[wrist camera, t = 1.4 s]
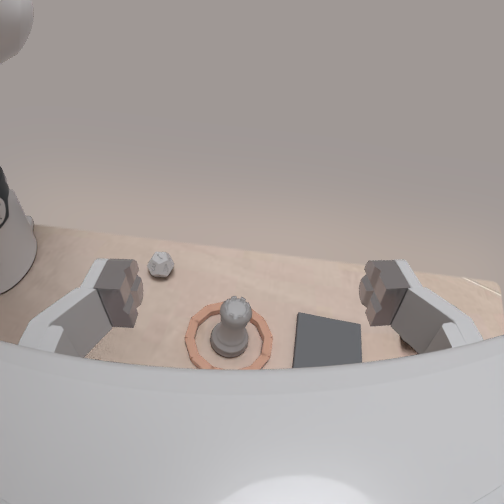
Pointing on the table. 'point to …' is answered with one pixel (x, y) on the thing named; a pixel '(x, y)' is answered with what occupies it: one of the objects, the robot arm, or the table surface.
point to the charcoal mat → (326, 342)
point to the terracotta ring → (215, 309)
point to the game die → (160, 264)
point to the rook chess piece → (232, 328)
